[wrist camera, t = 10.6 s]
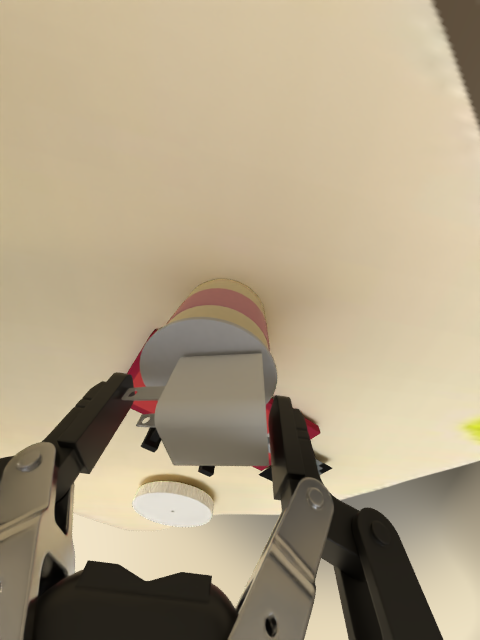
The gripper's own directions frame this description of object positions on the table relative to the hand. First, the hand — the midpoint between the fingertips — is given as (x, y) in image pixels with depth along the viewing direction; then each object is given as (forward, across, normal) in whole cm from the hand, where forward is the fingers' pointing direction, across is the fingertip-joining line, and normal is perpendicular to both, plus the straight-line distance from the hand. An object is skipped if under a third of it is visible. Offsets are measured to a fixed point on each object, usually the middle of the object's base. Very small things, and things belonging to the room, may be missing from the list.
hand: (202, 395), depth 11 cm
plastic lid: (+9, +5, +38) cm, 39 cm away
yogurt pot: (+9, 0, 0) cm, 9 cm away
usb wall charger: (+1, 0, 0) cm, 1 cm away
